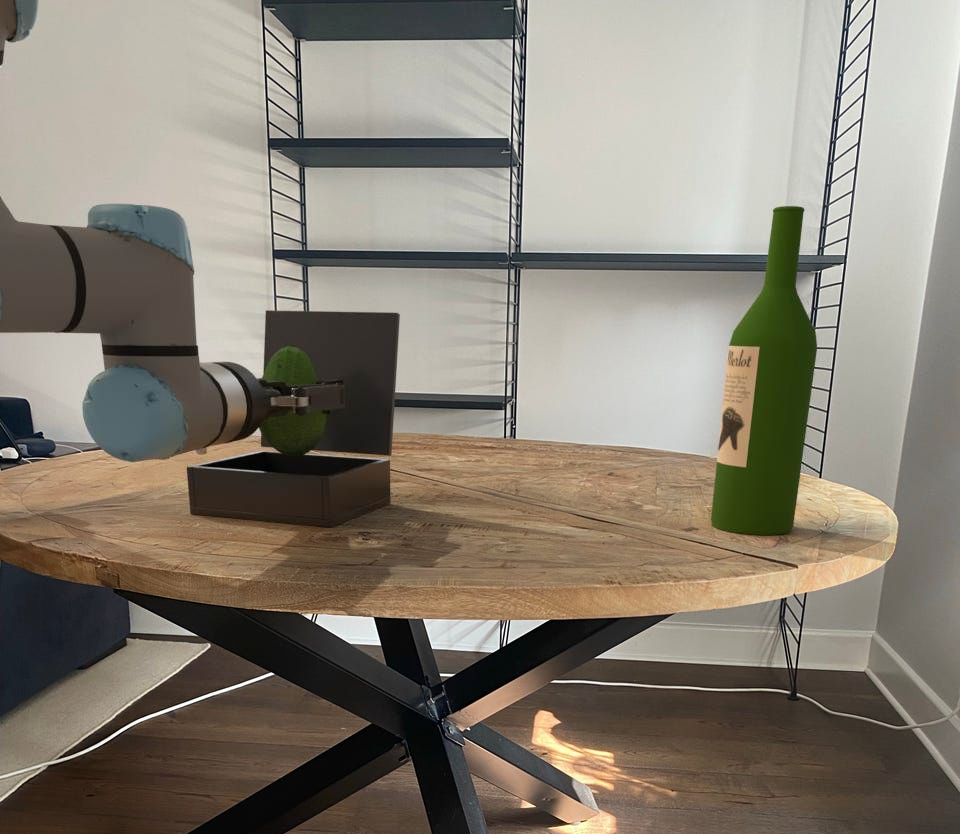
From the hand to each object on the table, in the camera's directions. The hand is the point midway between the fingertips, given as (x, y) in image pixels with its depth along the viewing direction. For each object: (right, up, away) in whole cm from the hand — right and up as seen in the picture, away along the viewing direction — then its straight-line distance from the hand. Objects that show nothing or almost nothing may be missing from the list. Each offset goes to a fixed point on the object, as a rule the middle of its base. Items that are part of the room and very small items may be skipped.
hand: (305, 390), depth 107 cm
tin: (-1, -14, 0) cm, 14 cm away
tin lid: (+2, +2, +3) cm, 4 cm away
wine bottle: (+51, -17, -5) cm, 54 cm away
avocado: (-1, -8, -2) cm, 9 cm away
